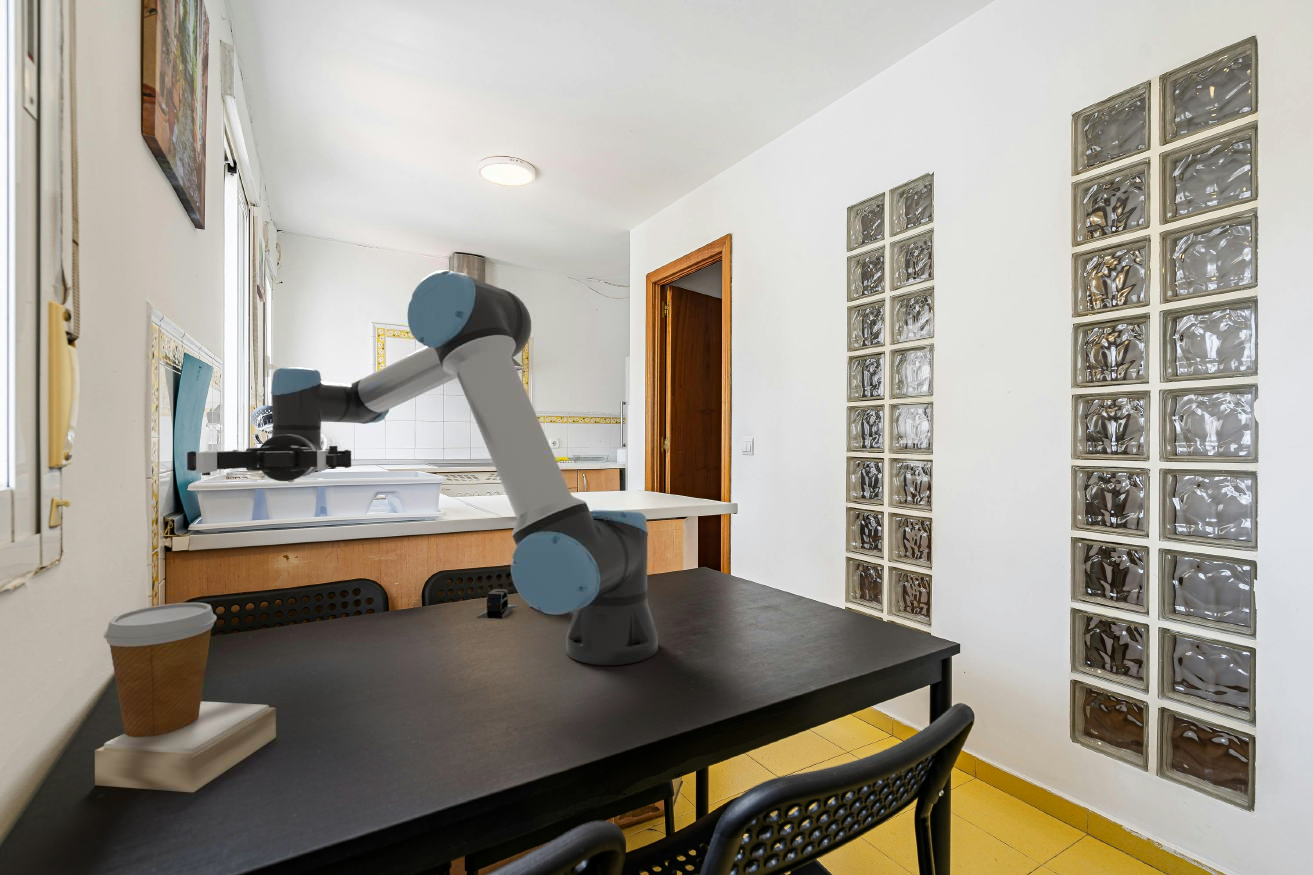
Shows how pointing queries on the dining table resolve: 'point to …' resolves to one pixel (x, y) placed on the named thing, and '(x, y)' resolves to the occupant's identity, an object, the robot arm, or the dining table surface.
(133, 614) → the disposable coffee cup
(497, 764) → the dining table surface
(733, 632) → the dining table surface
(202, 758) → the plinth
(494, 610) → the black block on base
